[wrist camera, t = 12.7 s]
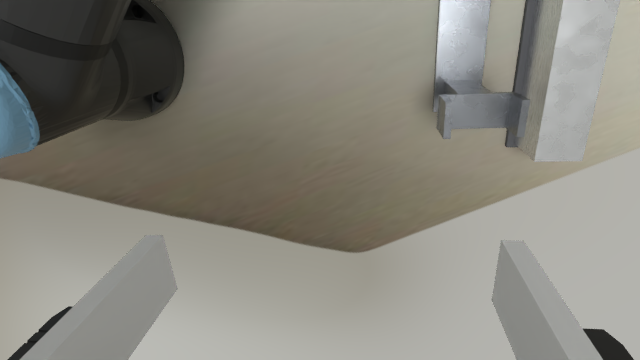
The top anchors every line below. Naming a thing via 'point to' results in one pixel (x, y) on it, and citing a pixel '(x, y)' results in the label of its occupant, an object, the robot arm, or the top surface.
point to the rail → (564, 75)
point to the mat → (522, 58)
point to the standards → (469, 74)
